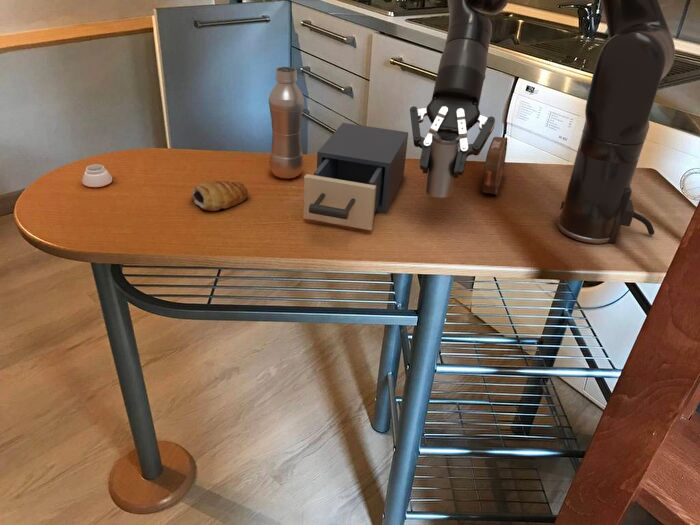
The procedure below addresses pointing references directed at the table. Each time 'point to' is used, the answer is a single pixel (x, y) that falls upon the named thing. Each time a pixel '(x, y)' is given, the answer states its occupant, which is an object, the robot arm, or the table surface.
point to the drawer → (344, 193)
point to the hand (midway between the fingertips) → (440, 173)
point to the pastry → (218, 194)
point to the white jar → (96, 176)
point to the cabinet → (370, 153)
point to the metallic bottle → (286, 124)
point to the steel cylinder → (442, 164)
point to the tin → (494, 165)
